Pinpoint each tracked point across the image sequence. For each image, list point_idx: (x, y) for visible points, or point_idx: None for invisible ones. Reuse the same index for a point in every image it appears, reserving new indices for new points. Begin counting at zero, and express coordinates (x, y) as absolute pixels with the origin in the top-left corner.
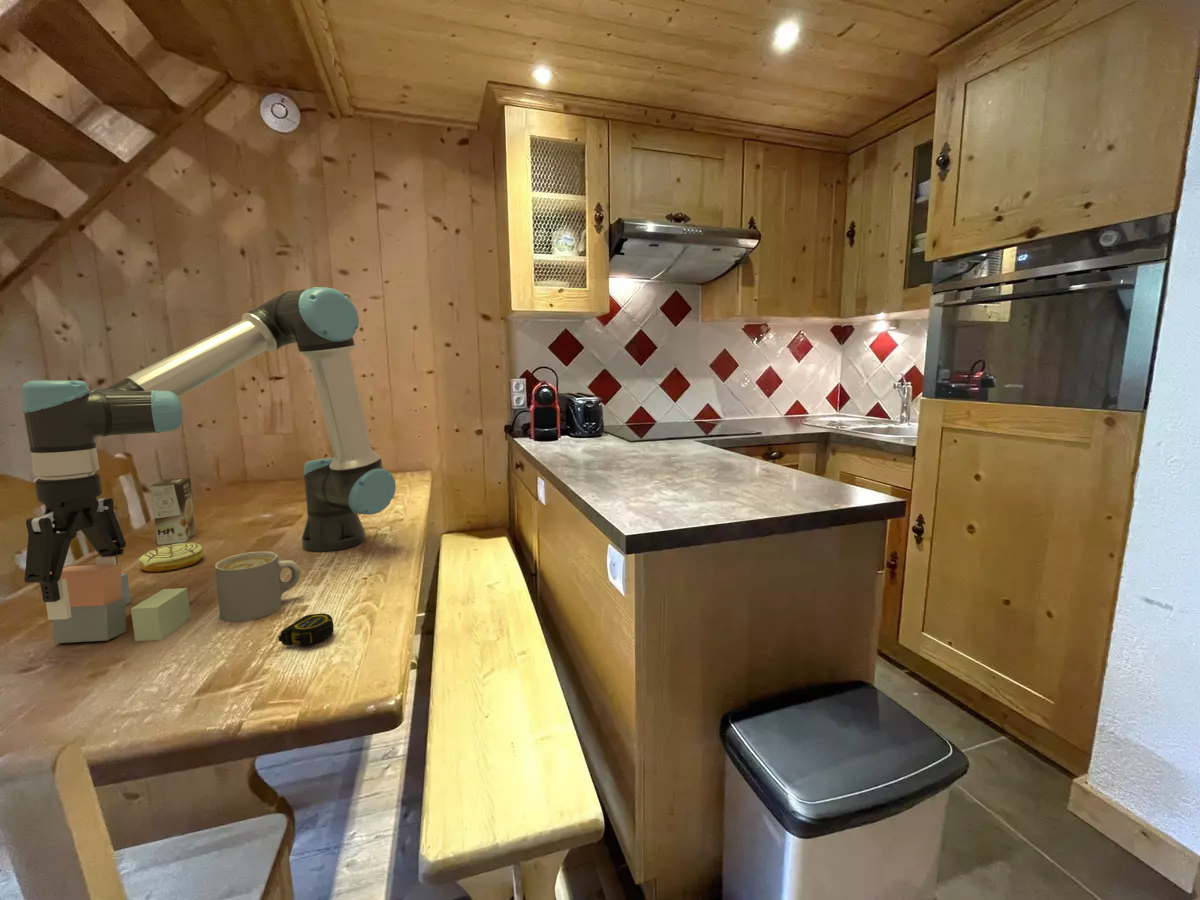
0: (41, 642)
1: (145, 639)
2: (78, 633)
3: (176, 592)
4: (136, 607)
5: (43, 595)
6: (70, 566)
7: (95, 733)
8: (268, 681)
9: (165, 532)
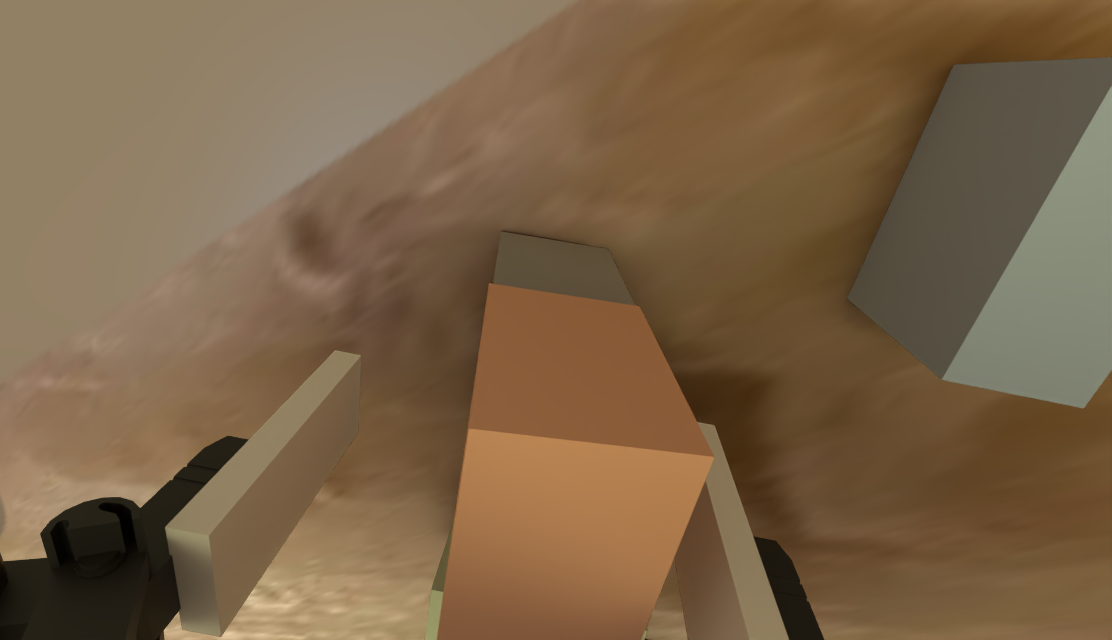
0: (563, 147)
1: None
2: None
3: None
4: (440, 602)
5: (180, 476)
6: (697, 470)
7: (3, 554)
8: None
9: None
